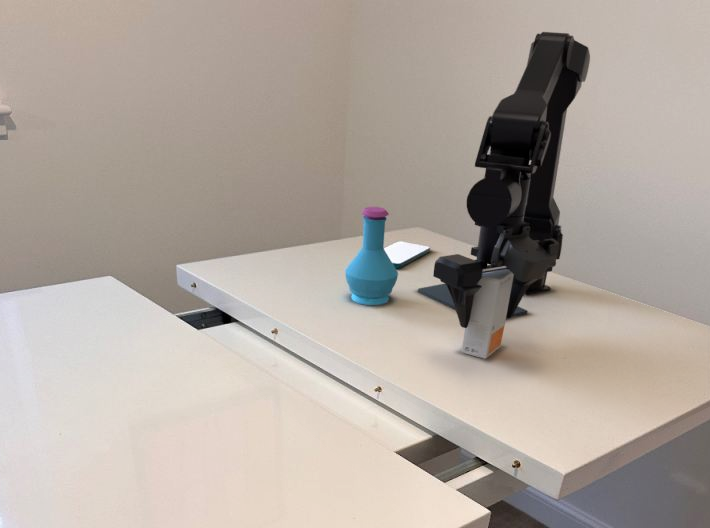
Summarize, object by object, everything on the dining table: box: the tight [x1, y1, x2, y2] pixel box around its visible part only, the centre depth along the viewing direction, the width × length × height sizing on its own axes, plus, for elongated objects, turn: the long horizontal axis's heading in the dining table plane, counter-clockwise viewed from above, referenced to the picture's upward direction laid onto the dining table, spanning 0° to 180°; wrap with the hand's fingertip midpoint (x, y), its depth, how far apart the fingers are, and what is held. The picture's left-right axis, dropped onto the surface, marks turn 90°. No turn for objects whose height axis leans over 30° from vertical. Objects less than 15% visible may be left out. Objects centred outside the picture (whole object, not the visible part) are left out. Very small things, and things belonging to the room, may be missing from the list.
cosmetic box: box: [461, 269, 514, 360], centre depth 107 cm, size 6×4×12 cm
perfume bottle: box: [344, 206, 399, 306], centre depth 123 cm, size 9×9×15 cm
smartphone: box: [383, 240, 431, 268], centre depth 148 cm, size 8×1×16 cm
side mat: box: [417, 283, 528, 320], centre depth 128 cm, size 10×18×1 cm, turn 34°
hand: (486, 322), depth 108 cm, fingers closed on cosmetic box, 9 cm apart
